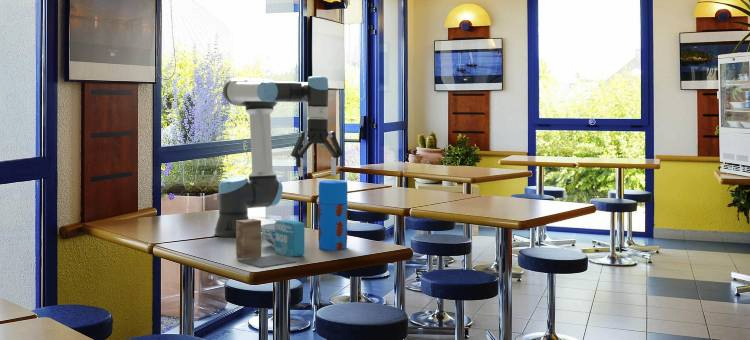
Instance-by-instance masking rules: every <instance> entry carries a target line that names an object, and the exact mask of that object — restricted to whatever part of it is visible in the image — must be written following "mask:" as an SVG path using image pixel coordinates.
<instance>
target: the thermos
mask: <svg viewBox="0 0 750 340" xmlns="http://www.w3.org/2000/svg"><path fill="white" fill-rule="evenodd" d="M347 246H348V181H347V180H346V181H345V180H321V181H319V183H318V249H320V250H321V251H322V250H323V251H330V250H331V251H332V252H333V251H334V252H335V251H343V250H344V251H345V250H346V249H347ZM331 251H330V252H331Z"/></svg>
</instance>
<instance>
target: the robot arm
mask: <svg viewBox="0 0 750 340" xmlns="http://www.w3.org/2000/svg"><path fill="white" fill-rule="evenodd" d="M222 95H223V98H224V100H225V101H226V102H227V103H228V104H230V105H233V106H237V107H245V112H246V113H247V114H248V115H249V129H250V130H249V131H250V133H249V134H250V151H251V153H250V154H251V171H252V172H250V174H249V175H248V177H247V176H235V177H229V178H225V179H222V180H221V181H220V182H219V184H218V190H217V191H218V217H217V221H216V226H215V228H214V235H215V236H217V237H223V238H236V221H238V220H247V219H250V218H249V215H248V209H252V208H253V209H254V208H269V207H274V206H277V205H278V204H279V203H280V201H281V200H282V197H283V192H284V191H283V190H284V189H283V183H282V181H281V179H279V178H277V177H278V176H277V173H275V172H274V169H273V168H274V167H273V150H272V127H271V114H272V113H273V112H274V107H276V106H277V104H278V103H284V102H285V103H288V102H289V103H307V116H306V117H307V118H308V119H307V121H306V122H307V131H306V132H305V131H299V133H298V138H297V141H296V143H295V145H294V147H293V149H292V151H291V153H290V156H291V157H293V158H294V159H295V167H296V168H297V177H302V178H303V176H304V159H303V155H304V154H305V153H306V152H307V150H309V148H310V147H311V146H312V145H313V144H314V145H315V144H322V145H324V146H325V148H326V149H327V150H328V152H329V153H330V154H331V156H332V157H330V175H331V176H336V175H337V167H338V165H339V158H340V157H342V156H343V155H344V153H343V151H342V148H341V145H340V144H339V141H338V139H337V137H336V135H337V134H336V131H334V130H333V131H332V130H331V131H328V129H329V128H328V127H329V121H328V119H327V118H328V117H329V116H328V115H329V79H328V77H326V76H308V78H307V81H306V82H305V81H276V80H275V81H274V80H271V79H269V78H256V77H255V78H251V77H250V78H249V77H248V78H247V77H246V78H245V77H236V78H232V79H230V80H228V81H226V82H225V84H224V85H223V88H222ZM306 137H307V139H306V141H305V138H306ZM328 137H329V139H330V141H331V143H332V145H333V146H332V145H331V143H330V141H329V140H328ZM304 141H305V143H304ZM303 143H304V144H303ZM302 145H303V146H302Z"/></svg>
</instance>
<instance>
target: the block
mask: <svg viewBox="0 0 750 340" xmlns="http://www.w3.org/2000/svg"><path fill="white" fill-rule="evenodd" d="M261 226H262V220H260V219H255V218H249V219H247V220H238V221H236V237H235V242H236V243H235V245H236V247H235V248H236V249H235V251H236V252H235V255H236V256H235V258H236V257H237V259H240V258H241V259H240V260H243V259H250V258H257V257H262V232H261Z"/></svg>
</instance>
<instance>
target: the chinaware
mask: <svg viewBox="0 0 750 340" xmlns="http://www.w3.org/2000/svg"><path fill="white" fill-rule="evenodd" d="M261 236H263V238H264V239H265V240H266V241H267V243H269V244H270V245H271V248H275V222H274V223H266V224H261Z"/></svg>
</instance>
